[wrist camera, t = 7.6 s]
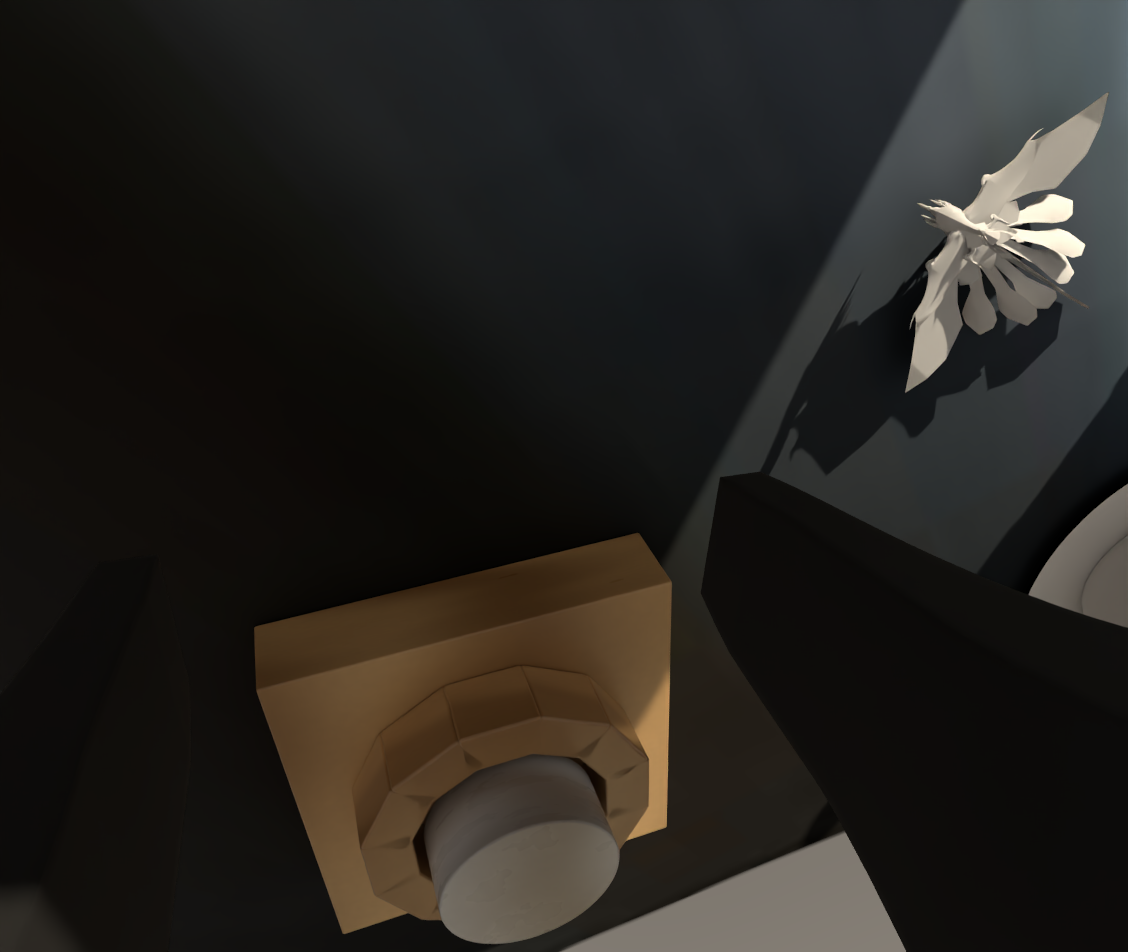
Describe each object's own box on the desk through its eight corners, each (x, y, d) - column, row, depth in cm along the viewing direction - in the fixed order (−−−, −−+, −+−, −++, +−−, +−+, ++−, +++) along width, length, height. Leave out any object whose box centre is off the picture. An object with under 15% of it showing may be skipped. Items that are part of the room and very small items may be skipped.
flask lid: (435, 891, 23) (452, 966, 21) (410, 783, 20) (426, 859, 19) (594, 838, 24) (621, 907, 22) (588, 730, 21) (618, 798, 20)
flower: (1144, 156, 23) (1247, 188, 21) (964, 410, 26) (1040, 458, 24) (1014, 24, 19) (1129, 48, 17) (813, 348, 22) (891, 402, 20)
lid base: (335, 867, 26) (350, 998, 23) (253, 626, 21) (257, 753, 18) (640, 772, 29) (692, 878, 26) (638, 531, 23) (704, 629, 20)
